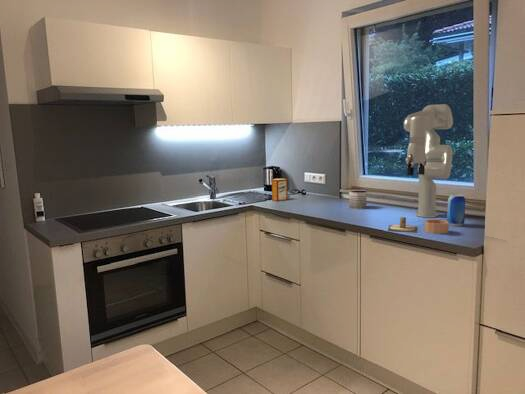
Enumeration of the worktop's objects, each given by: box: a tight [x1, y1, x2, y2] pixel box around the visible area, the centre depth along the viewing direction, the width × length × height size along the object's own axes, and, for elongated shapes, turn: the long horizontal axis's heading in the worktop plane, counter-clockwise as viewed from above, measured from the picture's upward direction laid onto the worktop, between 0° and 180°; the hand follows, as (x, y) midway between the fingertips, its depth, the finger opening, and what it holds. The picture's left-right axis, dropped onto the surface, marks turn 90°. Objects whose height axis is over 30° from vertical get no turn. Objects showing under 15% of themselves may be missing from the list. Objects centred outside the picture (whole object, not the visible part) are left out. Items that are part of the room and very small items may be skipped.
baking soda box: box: [271, 177, 288, 203], centre depth 318 cm, size 10×6×16 cm
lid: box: [390, 216, 416, 233], centre depth 220 cm, size 12×12×6 cm
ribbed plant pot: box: [348, 189, 368, 210], centre depth 283 cm, size 11×11×12 cm
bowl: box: [424, 218, 450, 235], centre depth 214 cm, size 11×11×5 cm
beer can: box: [446, 193, 466, 227], centre depth 228 cm, size 8×8×16 cm
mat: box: [387, 224, 418, 234], centre depth 221 cm, size 14×14×1 cm
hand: (415, 174), depth 221 cm, fingers open, 9 cm apart
